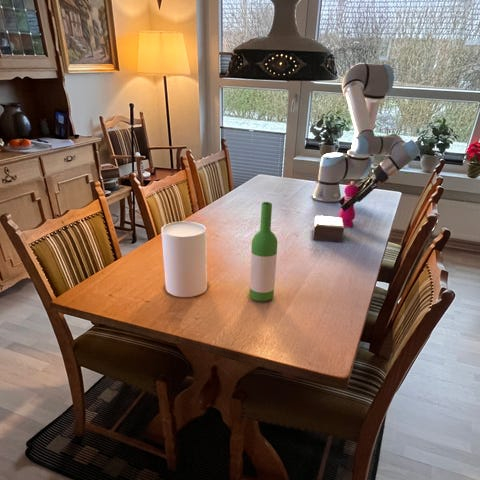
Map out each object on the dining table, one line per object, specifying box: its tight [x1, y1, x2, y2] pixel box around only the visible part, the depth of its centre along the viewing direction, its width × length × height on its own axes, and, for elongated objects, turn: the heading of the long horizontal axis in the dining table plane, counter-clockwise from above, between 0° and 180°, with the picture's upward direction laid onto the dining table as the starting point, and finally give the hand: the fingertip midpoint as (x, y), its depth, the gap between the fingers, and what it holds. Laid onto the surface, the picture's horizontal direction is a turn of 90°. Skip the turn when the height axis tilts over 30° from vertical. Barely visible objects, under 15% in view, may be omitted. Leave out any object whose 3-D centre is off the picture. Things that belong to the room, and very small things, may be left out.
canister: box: [160, 220, 208, 298], centre depth 131 cm, size 14×14×20 cm
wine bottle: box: [249, 201, 278, 303], centre depth 124 cm, size 8×8×30 cm
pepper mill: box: [338, 180, 358, 228], centre depth 187 cm, size 7×7×20 cm
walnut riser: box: [312, 215, 345, 243], centre depth 177 cm, size 12×12×7 cm
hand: (341, 206), depth 188 cm, fingers open, 8 cm apart
